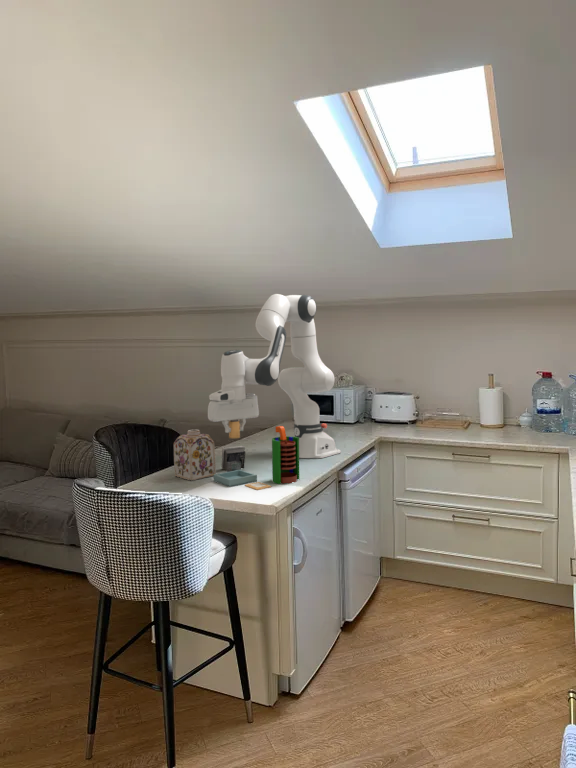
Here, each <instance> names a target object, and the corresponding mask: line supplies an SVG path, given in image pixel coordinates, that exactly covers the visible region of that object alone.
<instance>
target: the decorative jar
mask: <svg viewBox="0 0 576 768" xmlns="http://www.w3.org/2000/svg"><path fill="white" fill-rule="evenodd" d="M173 464H174V465H173V467H174V477H176V476H177V478H179V477H180V479H183V480H186V479H187V481H190V480H191V482H192V480H193V481H196V480H201V479H206V478H210V477H214V474H217V473H216V472H217V471H216V450H215V441H214V440H213V439H212V437H211V436H210V434H207V433H201V430H200V429H189V430H187V434H181V435H179V436H178V437H177V438H176V439H175V441H174V442H173Z"/></svg>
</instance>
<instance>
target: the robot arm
mask: <svg viewBox="0 0 576 768" xmlns="http://www.w3.org/2000/svg"><path fill="white" fill-rule="evenodd" d="M317 306H318V305H317V302H316V300H315V298H314V297H313V296H311V295H308V294H302V295H301V294H300V295H299V294H289V295H283V294H280V293H274V294H271V295H270V296H269V297H268V299H267V300H266V301H265V302H264V304H263V305H262V307H261V309H260V311H259V313H258V315H257V317H256V320H255V329H256V332H257V333H258V334H259V335H260V336H261V337H262V338H263V339H265V340H267V341H269V342H270V344H269V347H268V351H267V355H266V356H265V357H262V358H250V357H247V356H246V355H245V354H244V351H243V350H241V349H231V350H227V351H225V352H223V353H222V356H221V361H220V376H221V381H222V382H221V386H220V387H221V388H220V389H219V390H218V391H215V392H212V393H210V394H209V395H208V398H209V400H210V401H209V403H208V406H207V419H208V421H210V422H212V423H215V422H216V423H217V422H221V424H222V425H223V427H224V432H225V433H227V434H229V433H230V432H231V428H229V421H230V420H237V419H238V420H239V421H240V432H244V427H245V425H246V422H247V419H256V418H258V417H259V415H260V409H259V403H258V399H259V398H258V395H256V393H254V392H251V393H248V392H247V393H246V385H259V386H266V387H269V386H272V385H274V384H275V383H276V382H277V383H278V386H279V387H280V389H281V390H282V391H284V393H286V395H287V396H288V397H289V399H290V401H291V402H292V406H293V413H294V414H293V415H294V423H293V435H294V437H298V438H299V459H323V458H326V457H327V458H328V457H331V456H334V455H339V454H341V453H342V452H341V449H339V448H337V447H336V442H335V438H333V437H331V436H330V435H329V434H328V433H327V432H325V431H324V429H327V428H328V425H327V423H320V419H321V418H320V416H321V415H320V406H319V404H318V403H317V402H316V401H314V400H312V399H311V398H310V397H309V395H308V393H324V392H330V390H332V389H333V387H334V385H335V380H336V379H335V374H334V372H333V371H332V370H331V369H330V368H329V367H327V366H326V364H325V363H324V362H323V360H322V359H321V357H320V354H319V351H318V344H317V331H316V324H315V320H314V318H315V316H316V314H317ZM286 323H290V330H289V331H290V332H289V333H290V348H291V349H290V350H291V354H292V356H293V357H294V358H296V359H298V360H299V361H300V362H302V364H303V366H304V367H302V366H301V367H297V366H296V367H295V366H293V367H287V368H284V369H282V370H281V371H280V369H281V368H280V367H281V362H282V358H283V354H284V349H285V346H286V341H287V331H286V329H285V328H284V327H285V324H286ZM323 428H324V429H323Z"/></svg>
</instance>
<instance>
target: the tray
mask: <svg viewBox="0 0 576 768" xmlns="http://www.w3.org/2000/svg"><path fill="white" fill-rule="evenodd" d="M213 482H216V483H217V482H218V483H217V484H221V485H223V486H226V487H229V488H231V487H237V486H242V485H246V484H251V483H256V482H258V474H255V473H254V472H253V473H252V472H249V471H246V470H242V469H241V470H235V471H230V472H227V471H225V472H220V473H216V474H214V476H213Z"/></svg>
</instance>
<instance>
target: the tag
mask: <svg viewBox="0 0 576 768" xmlns="http://www.w3.org/2000/svg"><path fill="white" fill-rule="evenodd" d="M244 486H245V487H247V488H250V489H253V490H256V491H259V490H264V489H269V488H272V486H271V485H270V484H267V483H264V482H260V481H257V482H252V483H247V484H244Z"/></svg>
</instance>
